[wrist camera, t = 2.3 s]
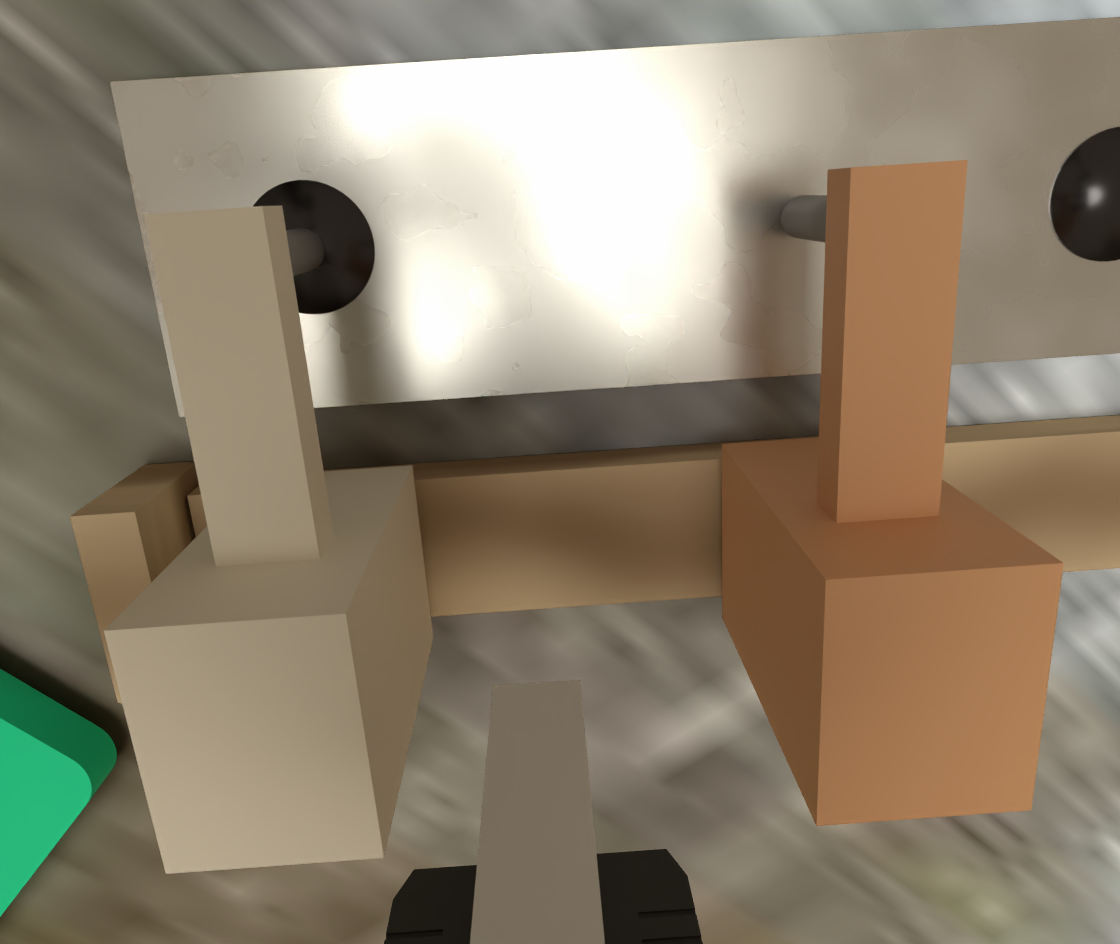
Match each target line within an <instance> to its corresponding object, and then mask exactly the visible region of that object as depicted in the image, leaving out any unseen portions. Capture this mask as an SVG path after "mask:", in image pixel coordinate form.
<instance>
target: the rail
mask: <svg viewBox="0 0 1120 944" xmlns="http://www.w3.org/2000/svg"><path fill="white" fill-rule="evenodd" d="M816 437H819V436H808V437H794V438H779V439H765V440H750V441H735V442H721V443H706V444H692V445H677V446H663V447H648V448H634V449H619V450H605V451H590V452H576V453H561V454H547V455H532V456H518V457H503V458H489V459H474V460H459V461H445V462H430V463H416V464H401V465H387V466H372V467H358V468H343V469H329V470H324V471H337V470H351V469H366V468H380V467H395V466H409V465H412V467H413V475H414V484H415V492H416V500H417V508H418V516H419V525H420V533H421V541H422V549H423V557H424V566H425V574H426V582H427V590H428V598H429V607H430V615H431V617H433V616H447V615H461V614H476V613H490V612H504V611H518V610H532V609H546V608H560V607H575V606H589V605H603V604H617V603H631V602H645V601H659V600H674V599H688V598H702V597H716V596H722V444H729V443H743V442H758V441H773V440H787V439H802V438H816ZM942 480H944V481H945V482H947V483H948V484H950V485H951V486H953V487H954V488H955V489H957V490H958V491H960V492H961V493H963V494H964V495H966V496H967V497H969V498H970V499H971V500H973V501H974V502H976V503H977V504H979V505H980V506H982V507H983V508H984V509H986V510H987V511H989V512H990V513H992V514H993V515H995V516H996V517H998V518H999V519H1000V520H1002V521H1003V522H1005V523H1006V524H1008V525H1009V526H1011V527H1012V528H1014V529H1015V530H1016V531H1018V532H1019V533H1021V534H1022V535H1024V536H1025V537H1027V538H1028V539H1030V540H1031V541H1032V542H1034V543H1035V544H1037V545H1038V546H1040V547H1041V548H1043V549H1044V550H1045V551H1047V552H1048V553H1050V554H1051V555H1053V556H1054V557H1056V558H1057V559H1059V560H1060V561H1061V562H1063V563H1064V565H1063V572H1070V571H1084V570H1098V569H1112V568H1120V415H1113V416H1099V417H1084V418H1070V419H1055V420H1041V421H1026V422H1011V423H997V424H982V425H968V426H953V427H946V435H945V448H944V460H943V473H942ZM70 519H71V523H72V526H73V530H74V534H75V538H76V542H77V546H78V550H79V554H80V557H81V561H82V565H83V569H84V573H85V577H86V581H87V585H88V589H89V592H90V596H91V600H92V604H93V608H94V612H95V616H96V620H97V623H98V627H99V631H100V635H101V639H102V643H103V647H104V651H105V654H106V658H107V662H108V666H109V670H110V674H111V678H112V682H113V686H114V689H115V693H116V697H117V701H118V703H122V700H121V696H120V693H119V689H118V685H117V681H116V677H115V673H114V669H113V665H112V661H111V657H110V653H109V650H108V646H107V642H106V638H105V634H104V630H105V629H106V628H107V627H108V626H109V625H110V624H111V623H112V622H113V621H114V620H115V619H116V618H117V617H118V616H119V615H120V614H121V613H122V612H123V611H124V610H125V609H126V608H127V607H128V606H129V605H130V604H131V603H132V602H133V601H134V600H135V599H136V598H137V597H138V596H139V595H140V594H141V593H142V592H143V591H144V590H145V589H146V588H147V587H148V585H149V584H150V583H151V582H152V581H153V580H154V579H155V578H156V577H157V576H158V575H159V574H160V573H161V572H162V571H163V570H164V569H165V568H166V567H167V566H168V565H169V564H170V563H171V562H172V561H173V560H174V559H175V558H176V557H177V556H178V555H179V554H180V553H181V552H182V551H183V550H184V549H185V548H186V547H187V546H188V545H189V544H190V543H191V542H192V541H193V540H194V539H195V538H196V537H197V536H198V535H199V534H200V533H201V532H202V531H203V530H204V529H205V528H206V527H207V521H206V516H205V512H204V507H203V502H202V497H201V492H200V487H199V482H198V477H197V473H196V468H195V463H194V461H193V462H178V463H164V464H149V465H144V466H142V467H141V468H139V469H138V470H136V471H135V472H134V473H132V474H131V475H129V476H128V477H126V478H125V479H123V480H122V481H121V482H119V483H118V484H116V485H115V486H113V487H112V488H110V489H109V490H108V491H106V492H105V493H103V494H102V495H100V496H99V497H97V498H96V499H94V500H93V501H92V502H90V503H89V504H87V505H86V506H84V507H83V508H81V509H80V510H79V511H77V512H76V513H74V514H73V515H71V516H70Z"/></svg>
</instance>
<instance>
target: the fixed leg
mask: <svg viewBox="0 0 1120 944" xmlns="http://www.w3.org/2000/svg"><path fill="white" fill-rule="evenodd" d="M144 219H145V224H146V229H147V233H148V238H149V243H150V248H151V253H152V258H153V263H154V268H155V273H156V277H157V282H158V287H159V292H160V297H161V302H162V307H163V312H164V316H165V321H166V326H167V331H168V336H169V341H170V346H171V351H172V355H173V360H174V365H175V370H176V375H177V380H178V385H179V390H180V395H181V399H182V404H183V409H184V414H185V419H186V424H187V429H188V434H189V438H190V443H191V448H192V453H193V458H194V463H195V468H196V473H197V477H198V482H199V487H200V492H201V497H202V502H203V507H204V512H205V516H206V521H207V527H206V528H205V529H204V530H203V531H202V532H201V533H200V534H199V535H198V536H197V537H196V538H195V539H194V540H193V541H192V542H191V543H190V544H189V545H188V546H187V547H186V548H185V549H184V550H183V551H182V552H181V553H180V554H179V555H178V556H177V557H176V558H175V559H174V560H173V561H172V562H171V563H170V564H169V565H168V566H167V567H166V568H165V569H164V570H163V571H162V572H161V573H160V574H159V575H158V576H157V577H156V578H155V579H154V580H153V581H152V582H151V583H150V584H149V585H148V587H147V588H146V589H145V590H144V591H143V592H142V593H141V594H140V595H139V596H138V597H137V598H136V599H135V600H134V601H133V602H132V603H131V604H130V605H129V606H128V607H127V608H126V609H125V610H124V611H123V612H122V613H121V614H120V615H119V616H118V617H117V618H116V619H115V620H114V621H113V622H112V623H111V624H110V625H109V626H108V627H107V628H106V629H105V630H104V634H105V638H106V642H107V646H108V650H109V653H110V657H111V661H112V665H113V669H114V673H115V677H116V681H117V685H118V689H119V693H120V696H121V700H122V704H123V708H124V712H125V716H126V720H127V724H128V728H129V732H130V735H131V739H132V743H133V747H134V751H135V755H136V759H137V763H138V767H139V771H140V775H141V778H142V782H143V786H144V790H145V794H146V798H147V802H148V806H149V810H150V814H151V818H152V821H153V825H154V829H155V833H156V837H157V841H158V845H159V849H160V853H161V857H162V860H163V864H164V868H165V872H166V874H170V873H183V872H197V871H211V870H224V869H238V868H251V867H265V866H279V865H292V864H306V863H319V862H333V861H347V860H360V859H374V858H384V855H385V851H386V846H387V842H388V837H389V833H390V828H391V824H392V820H393V815H394V811H395V806H396V802H397V797H398V793H399V788H400V784H401V779H402V775H403V771H404V766H405V762H406V757H407V753H408V748H409V744H410V739H411V735H412V731H413V726H414V722H415V717H416V713H417V708H418V704H419V699H420V695H421V691H422V686H423V682H424V677H425V673H426V668H427V664H428V659H429V655H430V650H431V646H432V642H433V631H432V623H431V615H430V607H429V598H428V590H427V582H426V574H425V566H424V557H423V549H422V541H421V533H420V525H419V516H418V508H417V500H416V492H415V484H414V475H413V467H412V465H409V466H395V467H380V468H366V469H351V470H337V471H324V470H323V464H322V458H321V451H320V445H319V438H318V432H317V426H316V419H315V413H314V406H313V400H312V393H311V387H310V381H309V374H308V368H307V361H306V355H305V349H304V342H303V336H302V329H301V323H300V317H299V310H298V304H297V297H296V291H295V285H294V278H293V276H296V275H299V274H302V273H305V272H308V271H311V270H314V269H315V268H317V267H318V266H319V265H320V264H321V262H322V260H323V258H324V246H323V243H322V241H321V239H320V238H319V236H318V235H317V234H315V233H314V232H313V231H311V230H308V229H304V228H299V229H292V230H286V227H285V221H284V214H283V208H282V206H257V207H242V208H226V209H211V210H196V211H181V212H165V213H150V214H144Z"/></svg>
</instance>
